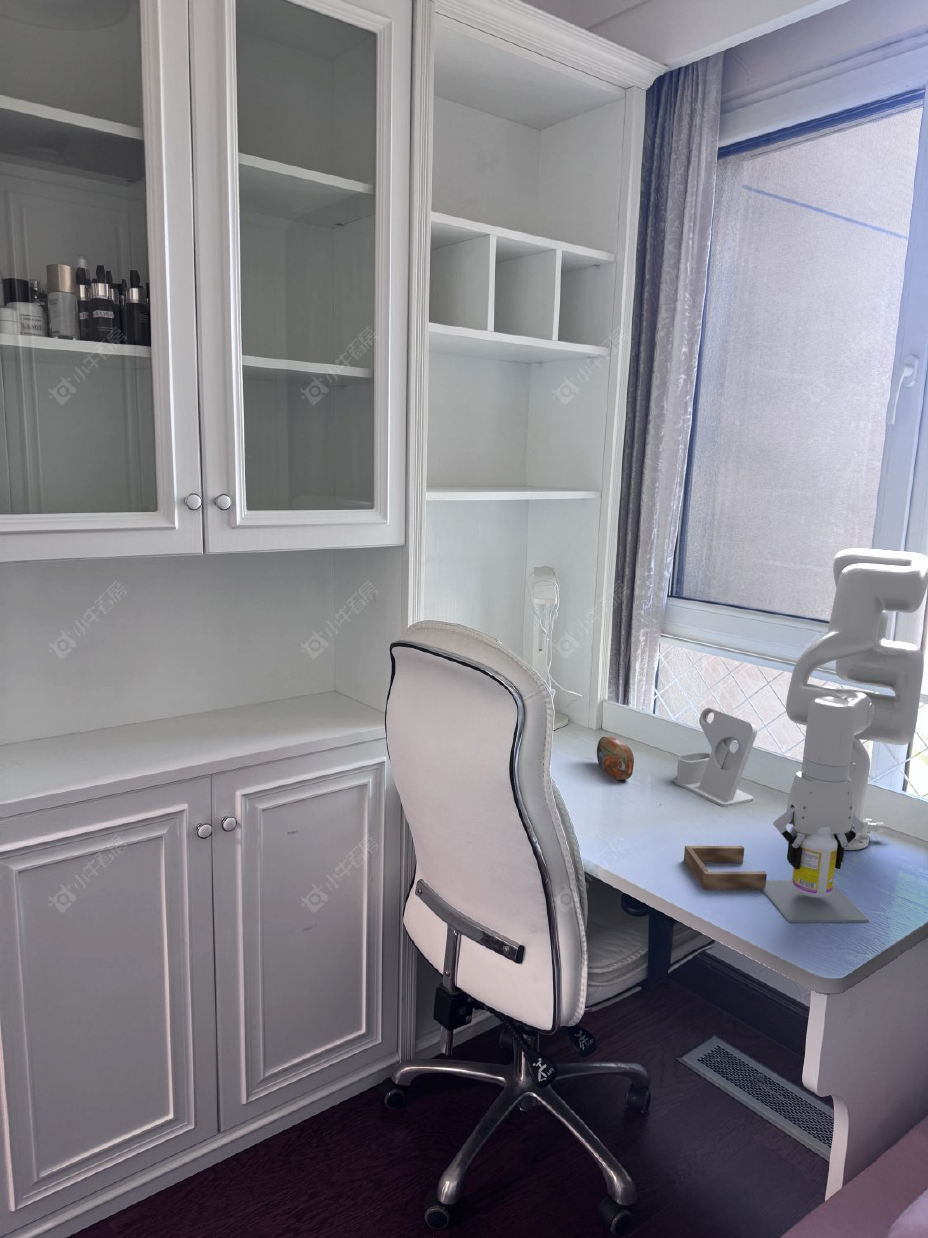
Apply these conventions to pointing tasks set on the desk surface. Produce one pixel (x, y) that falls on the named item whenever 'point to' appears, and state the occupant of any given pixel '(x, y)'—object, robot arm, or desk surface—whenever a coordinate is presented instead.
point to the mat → (811, 904)
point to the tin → (615, 758)
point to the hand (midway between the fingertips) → (814, 865)
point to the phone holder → (719, 760)
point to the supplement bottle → (816, 864)
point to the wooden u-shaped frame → (721, 879)
